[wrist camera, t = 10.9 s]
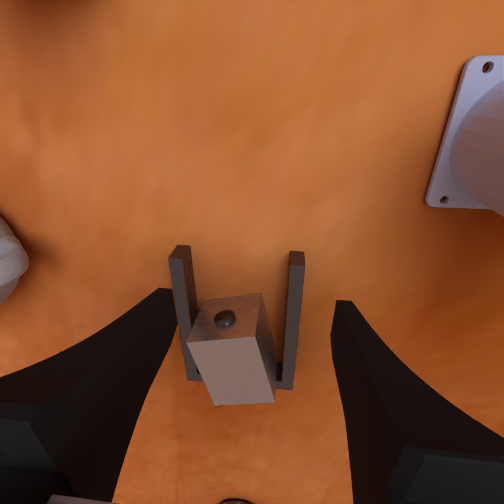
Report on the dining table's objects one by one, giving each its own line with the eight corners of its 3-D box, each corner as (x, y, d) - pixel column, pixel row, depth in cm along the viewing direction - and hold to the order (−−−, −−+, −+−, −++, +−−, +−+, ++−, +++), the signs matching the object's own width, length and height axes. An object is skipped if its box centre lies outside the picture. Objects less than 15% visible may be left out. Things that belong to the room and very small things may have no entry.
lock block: (260, 288, 24) (253, 333, 20) (277, 352, 28) (275, 402, 23) (202, 296, 25) (184, 339, 21) (225, 356, 29) (214, 405, 24)
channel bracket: (303, 251, 22) (305, 266, 20) (292, 371, 28) (292, 390, 27) (177, 245, 23) (168, 258, 21) (193, 362, 29) (187, 380, 28)
